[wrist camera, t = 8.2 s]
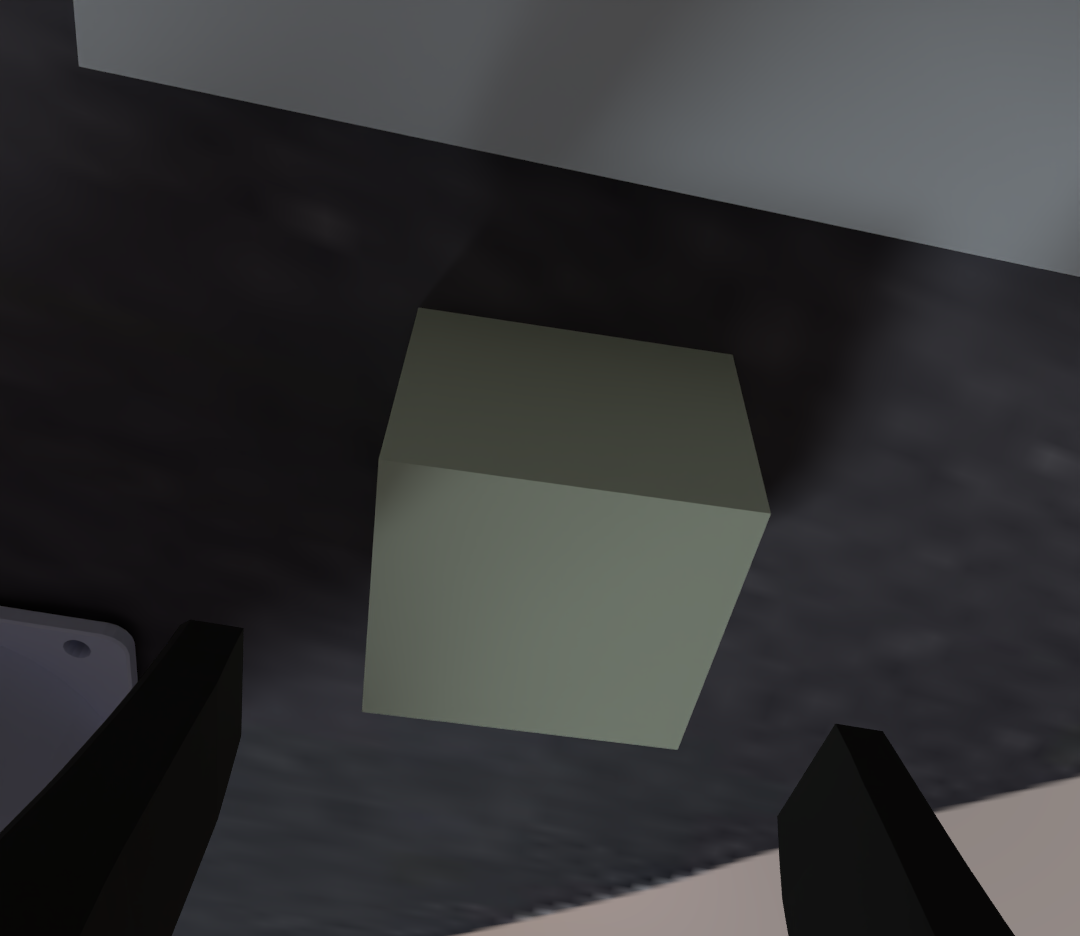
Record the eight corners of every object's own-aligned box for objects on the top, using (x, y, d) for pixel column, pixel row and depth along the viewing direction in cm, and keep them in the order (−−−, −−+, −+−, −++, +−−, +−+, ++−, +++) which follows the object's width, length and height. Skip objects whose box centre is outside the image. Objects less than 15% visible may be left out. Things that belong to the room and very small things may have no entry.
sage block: (398, 538, 18) (362, 711, 15) (419, 303, 15) (378, 459, 12) (660, 573, 19) (677, 749, 16) (731, 350, 16) (770, 514, 12)
